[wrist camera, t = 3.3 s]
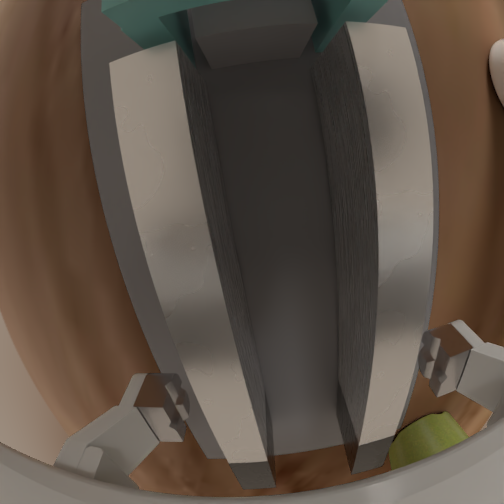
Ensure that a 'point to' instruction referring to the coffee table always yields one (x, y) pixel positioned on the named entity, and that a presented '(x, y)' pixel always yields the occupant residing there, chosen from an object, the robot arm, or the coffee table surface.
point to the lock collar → (176, 3)
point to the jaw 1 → (193, 248)
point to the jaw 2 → (376, 226)
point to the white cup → (497, 68)
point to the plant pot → (425, 439)
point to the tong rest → (252, 201)
